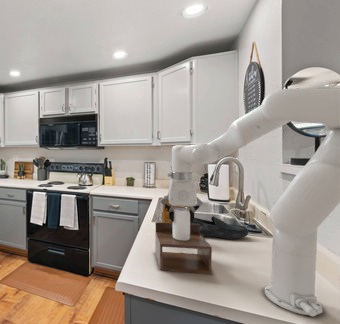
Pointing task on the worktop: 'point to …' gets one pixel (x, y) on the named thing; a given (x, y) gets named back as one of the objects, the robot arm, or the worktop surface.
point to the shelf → (182, 260)
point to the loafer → (220, 229)
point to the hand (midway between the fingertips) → (181, 220)
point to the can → (181, 224)
